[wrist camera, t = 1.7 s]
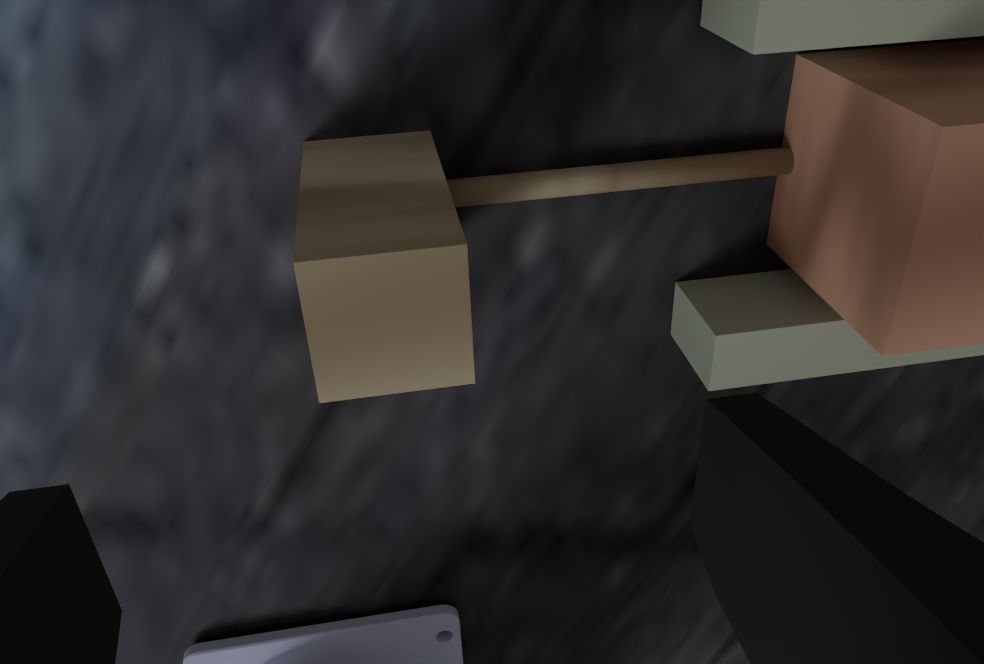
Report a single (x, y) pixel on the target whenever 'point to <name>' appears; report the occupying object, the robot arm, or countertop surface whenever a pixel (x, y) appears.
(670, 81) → the countertop surface
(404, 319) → the corded block
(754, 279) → the pale green u-shape
